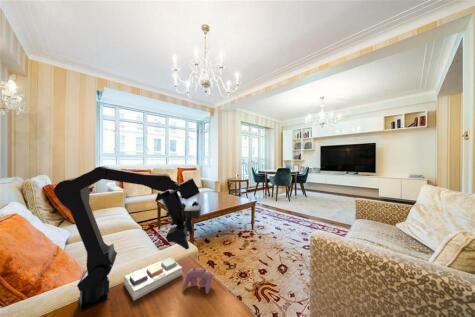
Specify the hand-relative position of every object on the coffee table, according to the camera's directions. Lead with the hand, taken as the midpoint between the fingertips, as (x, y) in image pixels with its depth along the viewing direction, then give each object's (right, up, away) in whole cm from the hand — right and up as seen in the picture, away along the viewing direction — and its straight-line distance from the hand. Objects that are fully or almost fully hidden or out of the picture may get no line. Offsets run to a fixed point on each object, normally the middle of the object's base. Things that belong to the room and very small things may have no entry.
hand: (190, 240), depth 66 cm
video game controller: (+4, -15, -5) cm, 16 cm away
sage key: (-9, -11, +2) cm, 15 cm away
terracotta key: (-13, -11, -2) cm, 17 cm away
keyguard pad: (-13, -13, -2) cm, 19 cm away
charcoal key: (-16, -11, -6) cm, 21 cm away
